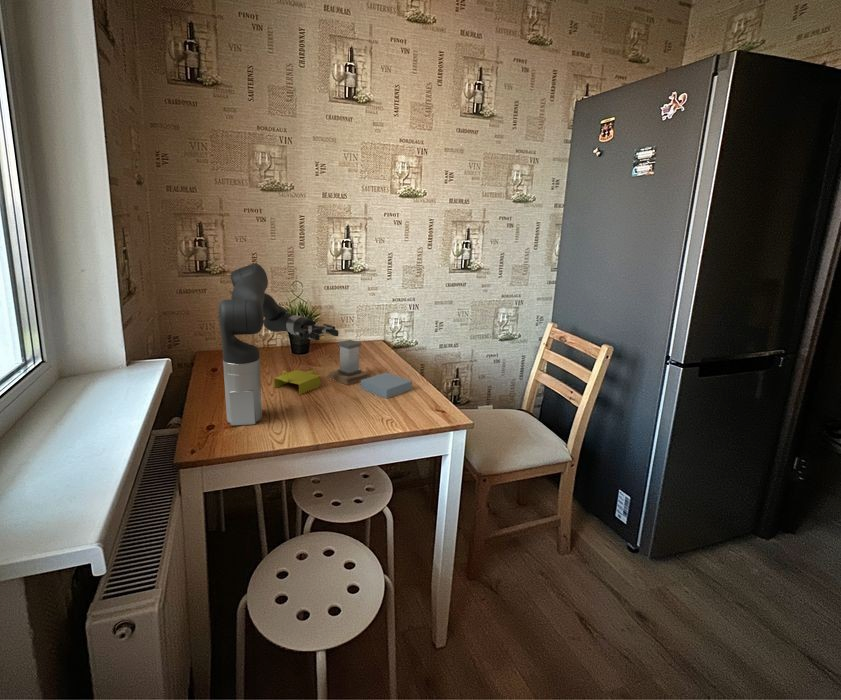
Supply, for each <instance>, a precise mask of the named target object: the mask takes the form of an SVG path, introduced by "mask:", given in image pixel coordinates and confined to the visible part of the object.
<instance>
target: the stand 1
mask: <svg viewBox="0 0 841 700" xmlns="http://www.w3.org/2000/svg"><path fill="white" fill-rule="evenodd" d="M370 374H371V373H369V372H367V371H364V370H361V373H360V374H356V375H353V376H349V377H348V376H345V375H342V374H340V373H338V369H337V370H334V371H329V372H328V379H330V378H331V379H330V380H333V379H334V380H333V381H335V380H336V381H335V382H338V381H339V382H338V383H340V382H342V383H341V384H343V383H344V384H343V385H345V384H346V386H350V384H351V385H354V384H358V383H361V380H363V379H366V378H370V377H371V375H370ZM357 382H358V383H357Z"/></svg>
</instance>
